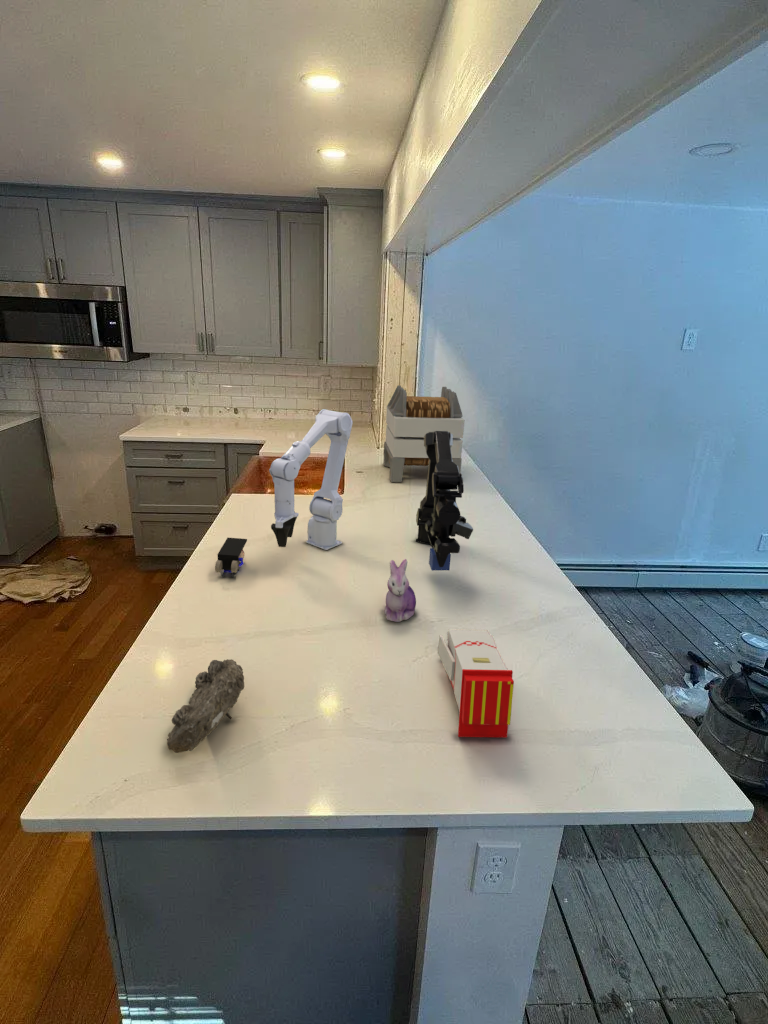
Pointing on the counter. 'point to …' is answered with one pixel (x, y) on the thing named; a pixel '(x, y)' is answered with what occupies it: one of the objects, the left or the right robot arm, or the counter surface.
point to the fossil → (206, 705)
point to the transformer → (419, 428)
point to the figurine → (399, 594)
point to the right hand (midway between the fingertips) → (439, 563)
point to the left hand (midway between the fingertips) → (285, 541)
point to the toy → (478, 682)
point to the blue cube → (434, 562)
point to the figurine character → (230, 556)
